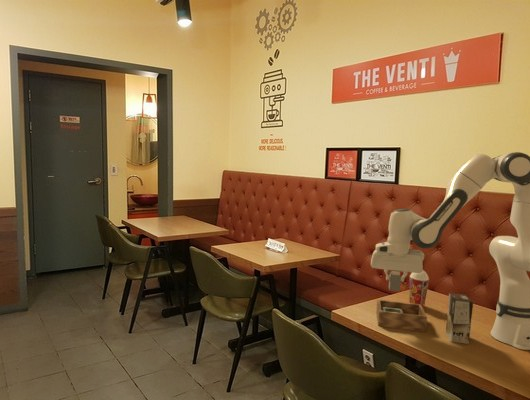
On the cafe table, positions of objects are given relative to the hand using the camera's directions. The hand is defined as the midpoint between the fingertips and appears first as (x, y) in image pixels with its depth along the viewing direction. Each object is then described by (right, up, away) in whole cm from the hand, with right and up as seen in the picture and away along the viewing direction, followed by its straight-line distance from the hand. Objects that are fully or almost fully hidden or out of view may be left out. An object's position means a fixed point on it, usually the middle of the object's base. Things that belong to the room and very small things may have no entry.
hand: (394, 280), depth 164 cm
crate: (+2, -17, +1) cm, 17 cm away
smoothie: (+17, -16, +21) cm, 31 cm away
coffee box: (+20, -20, -12) cm, 30 cm away
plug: (0, -4, 0) cm, 4 cm away
